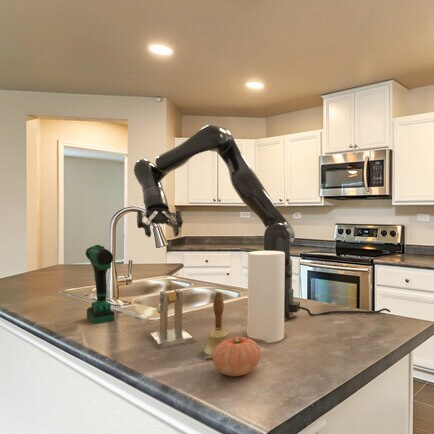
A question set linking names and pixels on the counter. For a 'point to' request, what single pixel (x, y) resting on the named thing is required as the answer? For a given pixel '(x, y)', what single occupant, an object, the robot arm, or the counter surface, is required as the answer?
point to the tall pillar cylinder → (266, 295)
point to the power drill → (100, 284)
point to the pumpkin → (236, 356)
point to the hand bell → (216, 326)
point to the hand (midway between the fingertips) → (163, 235)
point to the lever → (169, 300)
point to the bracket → (165, 334)
